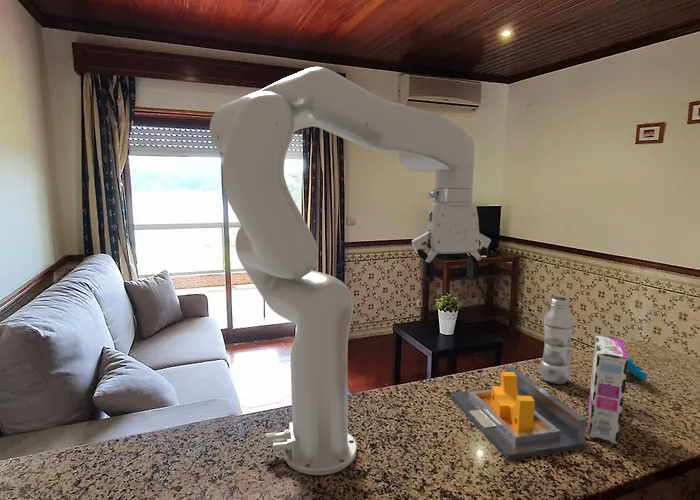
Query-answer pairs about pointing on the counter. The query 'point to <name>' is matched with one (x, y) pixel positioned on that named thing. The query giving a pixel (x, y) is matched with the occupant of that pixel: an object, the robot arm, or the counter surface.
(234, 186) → the robot arm
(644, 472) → the counter surface
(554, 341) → the plastic bottle
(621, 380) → the candy bar box
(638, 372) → the gear
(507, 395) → the orange notched block
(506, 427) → the grey tray with recess
